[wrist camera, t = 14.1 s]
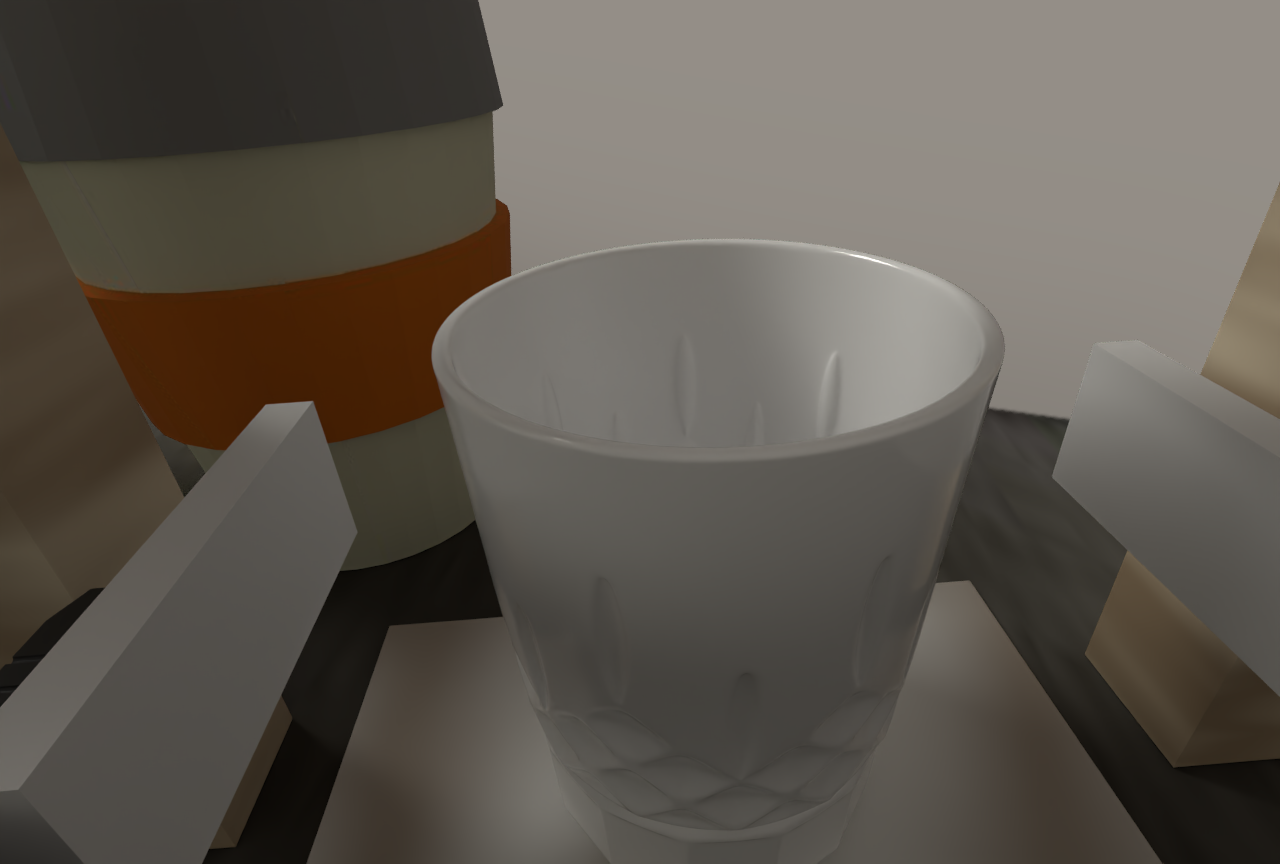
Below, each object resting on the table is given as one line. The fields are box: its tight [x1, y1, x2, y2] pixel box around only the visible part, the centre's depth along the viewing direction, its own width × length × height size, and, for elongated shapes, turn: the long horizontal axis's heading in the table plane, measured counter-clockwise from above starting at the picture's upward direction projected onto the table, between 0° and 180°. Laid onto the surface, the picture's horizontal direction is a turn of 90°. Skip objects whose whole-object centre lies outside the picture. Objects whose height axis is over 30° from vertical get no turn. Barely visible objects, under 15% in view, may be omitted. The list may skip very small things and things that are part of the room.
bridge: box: [0, 124, 1280, 864], centre depth 11 cm, size 24×8×18 cm, turn 93°
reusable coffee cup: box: [0, 0, 511, 571], centre depth 21 cm, size 13×13×15 cm
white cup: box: [431, 239, 1005, 864], centre depth 12 cm, size 8×8×10 cm
